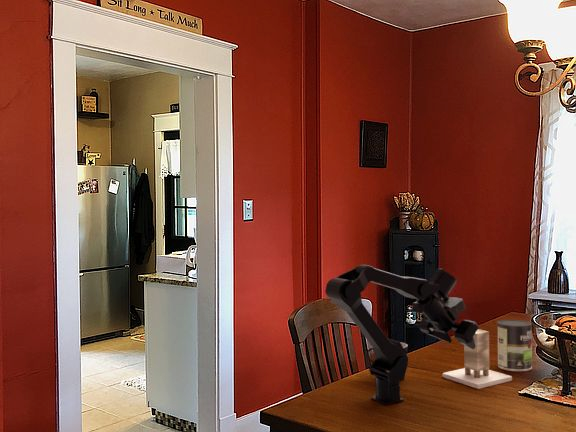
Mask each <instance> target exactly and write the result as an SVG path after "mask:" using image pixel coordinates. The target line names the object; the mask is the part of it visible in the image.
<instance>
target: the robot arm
mask: <svg viewBox="0 0 576 432" xmlns="http://www.w3.org/2000/svg"><path fill="white" fill-rule="evenodd" d="M369 283H372V284H376V285H380V286H382V287H386V288H390V289H393V290H395V291H396V292H397V293H398V294H400V295H402V296H403V297H405V298H409V299H415V300H416V301H415V302H412V307H411V312H413V313H418V314H423V315H424V316H423V317H422V319H421V321H420V322H419V324H418V328H419V330H420V331H421V332H422V333H425V334H427V335H429V336H431V337H434V338H436V339H438V340H441V341H444V342H446V343H448V344H451V343H452V341H453V340H452V338H451V336H450V334H449V333H448V332H449V331H453V332H454V339H456V340H457V341H458V343H460V344H462V345H465V346H467V347H469V348H471V349H475V347H476V346H475V342H474V338H473V336H474V334H475V333H476V331H477V330H478V329H479V325H478V324H477V322H476V321H474V320H470V319H462V321H461V322H457V321H458V319H459V316H458V315H460V314H461V313H462V312H463V311H465V310H466V308H467V307H466V305H465V302H464V300H463V298H462V297H461V298H460V297H455V296H452V297H451V296H449V294H450V292H451V291H452V289H454V288H455V285H456V284H457V279H456V277H455V276H454V275H452V274H451V273H449V272H447V271H445V269H443V268H437V269H436V270H435V272H434V274H433V275H432V277H431V278H430V280H427V279H426V278H425V279H424V278H418V277H413V276H401V275H398V274H395V273H391V272H388V271H385V270H381V269H378V268H375V267H373V266H372V265H369V264H368V265H367V264H359V265H357V266H355V267H354V268H352V269H351V270H348V271H346V272H343V273H341V274H339V275H338V276H337V277H332V278H331V279H329V280H328V282H327V283H326V286H325V290H324V291H325V295H326V297H327V298H329V299H330V301H331V302H332V303H334V304H335V305H336V306H337V307H339V308H341V309H342V310H344V311H345V312H346V313H347V314H348V316H349V318H350V319H351V321H353V323H354V324H355V325H356V327H357V328H358V329H359V331H360V333H362V335H363V337H365V339H366V340H367V342H368V343H369V345H370V346H371V348H373V350H372V351H373V357H374V360H373V363H372V362H371V365H370V366H369V368H368V371H369V373H370V375H371V376H373V377H374V378H375V381H374V383H375V384H374V386H375V395H372V396H370V398H371V400H373V401H376V402H379V403H380V404H382V405H386V406H387V405H390V404H396V403H400V402H403V401H404V400H405V398H404V397H402V396H401V385H400V381H399V380H401V381H404V380H405V377H406V373H407V369H408V366H409V365H408V364H409V356H408V350H407V351H405V350H404V348H403V346H402V344H401V343H402V342H401V343H400V341H397V340H394V339H392V338H391V339H390V338H388V337H387V335H386V334H385V333H384V331H383V330H382V329H381V328H380V325H378V323H377V321H376V320H375V319H374V318H373V316H372V315H371V314H370V313H371V312H369V311H368V310H367V308H366V306H364V304H363V299H362V292H363V291H365V290H366V288H367V287H368V284H369ZM406 353H407V354H406ZM386 369H387V370H390V372H388V371H386ZM403 379H404V380H403Z"/></svg>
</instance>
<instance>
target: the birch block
mask: <svg viewBox="0 0 576 432" xmlns="http://www.w3.org/2000/svg"><path fill="white" fill-rule="evenodd" d="M473 338H474V342H475V346H476V347H475V349H471V348H469V347H467V346H465V345H464V344H463V345H464V346H463V348H464V350H463V355H464V357H463V358H464V362H463V363H464V367H463V368H468V369H471V370H474V371H481V370H486V369H489V370H490V331H487V330H483V329H479V328H478V330H477V331H476V333H475V334H474V336H473Z"/></svg>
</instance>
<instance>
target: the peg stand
mask: <svg viewBox="0 0 576 432" xmlns="http://www.w3.org/2000/svg"><path fill="white" fill-rule="evenodd" d="M442 378H444V379H447V380H450V381H453V382H456V383H460V384H463V385H465V386H469V387H470V388H471V387H472V388H474V389H477V390H480V389H484V388H486V387H487V388H488V387H492V386H496V385H500V384H504V383H507V382H511V381H513V376H512V375H508V374H505V373H502V372H500V371H496V370H495V371H494V370H492V369H490V368H489V369H486V370H481V371H474V370H471V369H468V368H464V367H463V368H459V369H454V370H449V371H446V372H445V371H444V372H443V373H442Z"/></svg>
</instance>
